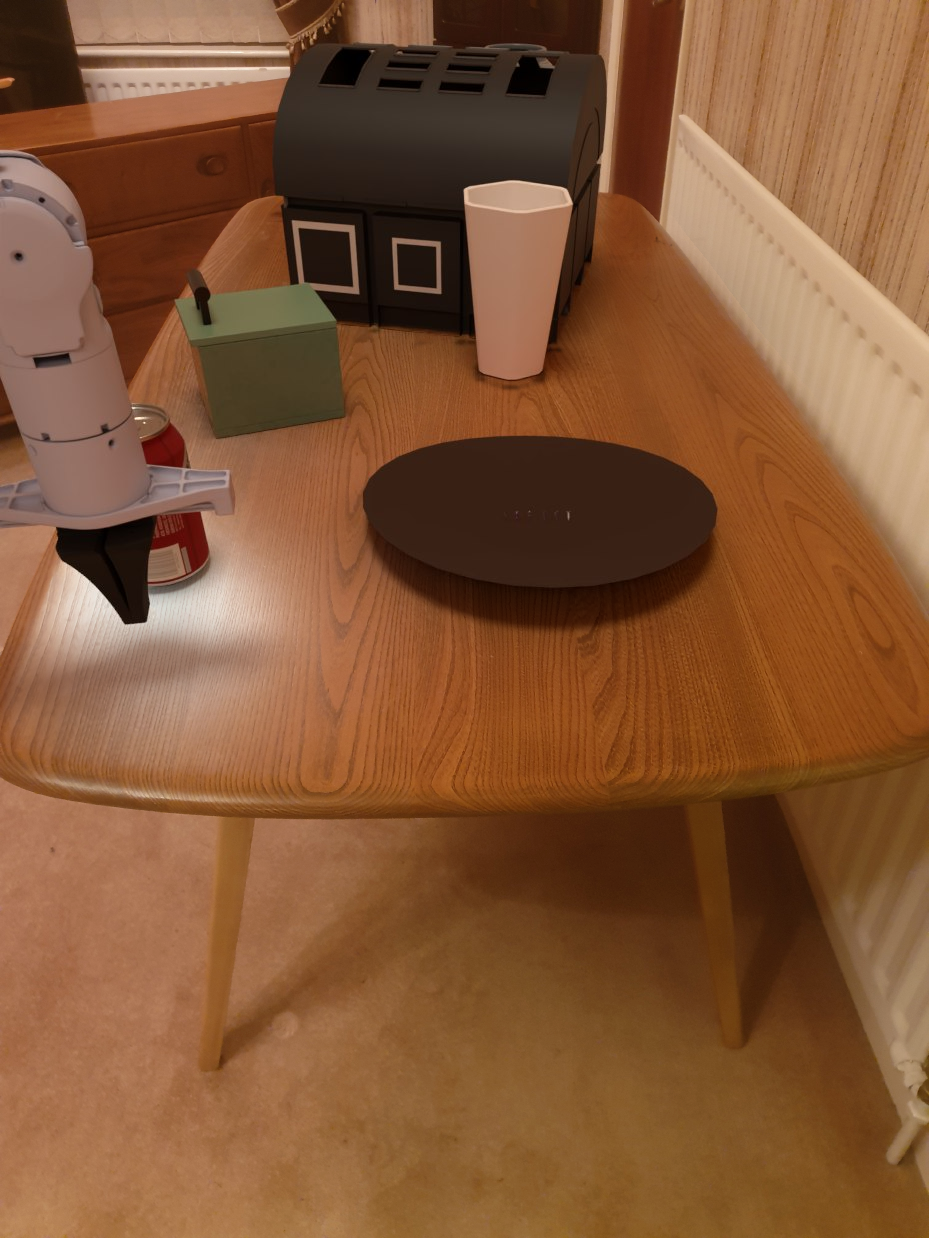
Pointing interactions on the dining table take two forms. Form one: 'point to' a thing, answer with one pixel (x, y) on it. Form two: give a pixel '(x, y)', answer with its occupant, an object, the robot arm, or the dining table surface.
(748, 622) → the dining table surface
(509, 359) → the cup
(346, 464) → the dining table surface
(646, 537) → the plate
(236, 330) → the bread bin lid
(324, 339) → the bin
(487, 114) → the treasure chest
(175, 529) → the soda can
